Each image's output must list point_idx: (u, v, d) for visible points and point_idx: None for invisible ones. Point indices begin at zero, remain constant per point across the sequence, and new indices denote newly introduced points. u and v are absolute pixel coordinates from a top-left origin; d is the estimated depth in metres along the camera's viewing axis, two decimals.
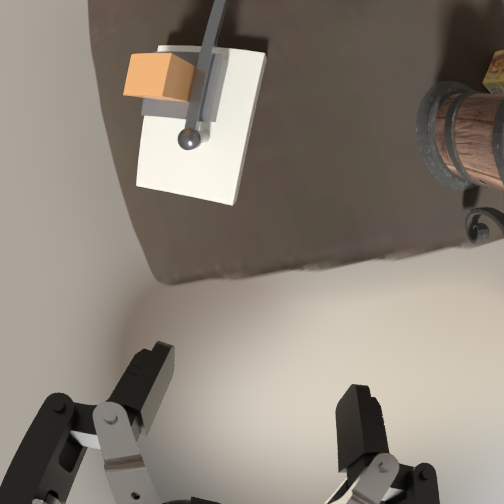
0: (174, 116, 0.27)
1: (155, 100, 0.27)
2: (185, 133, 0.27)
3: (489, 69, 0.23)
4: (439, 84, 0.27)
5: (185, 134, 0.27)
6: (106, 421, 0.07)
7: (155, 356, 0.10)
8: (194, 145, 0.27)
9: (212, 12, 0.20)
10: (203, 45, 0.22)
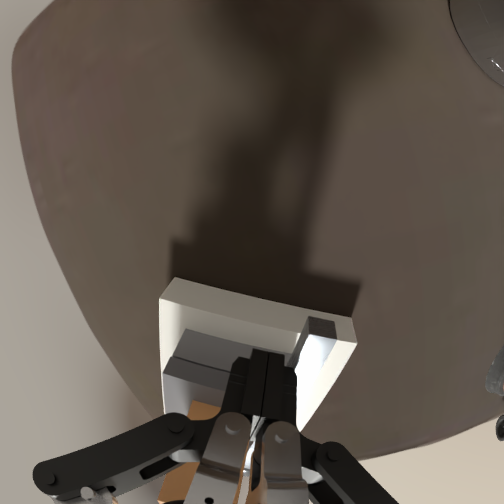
0: None
1: None
2: None
3: None
4: None
5: None
6: (232, 433, 0.08)
7: (256, 363, 0.11)
8: None
9: (295, 371, 0.11)
10: None
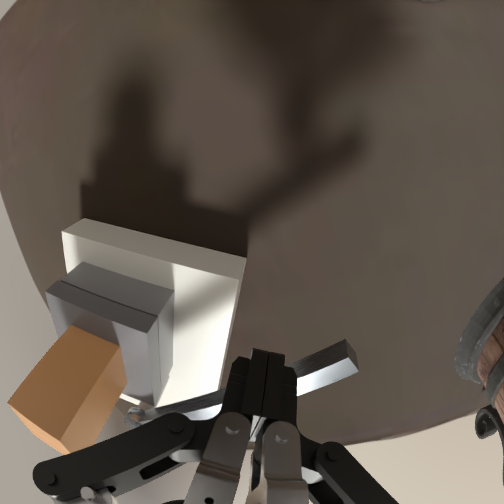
0: None
1: None
2: (137, 424, 0.17)
3: None
4: None
5: (137, 424, 0.17)
6: (232, 433, 0.08)
7: (256, 363, 0.11)
8: None
9: (305, 378, 0.12)
10: None
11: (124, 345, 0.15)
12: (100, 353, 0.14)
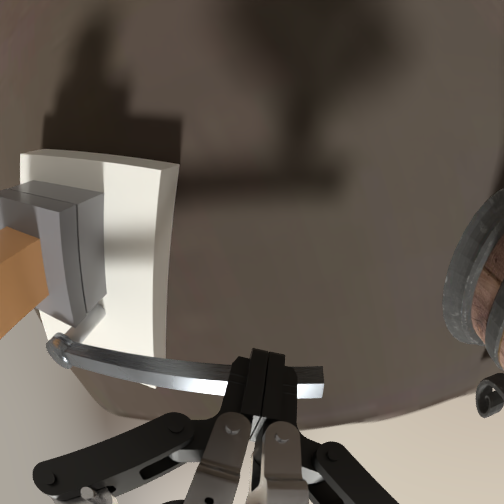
0: (39, 307, 0.15)
1: None
2: (60, 353, 0.15)
3: None
4: (498, 194, 0.15)
5: (60, 353, 0.15)
6: (231, 433, 0.08)
7: (256, 363, 0.11)
8: (58, 362, 0.15)
9: None
10: (193, 380, 0.13)
11: (42, 236, 0.13)
12: (19, 243, 0.12)
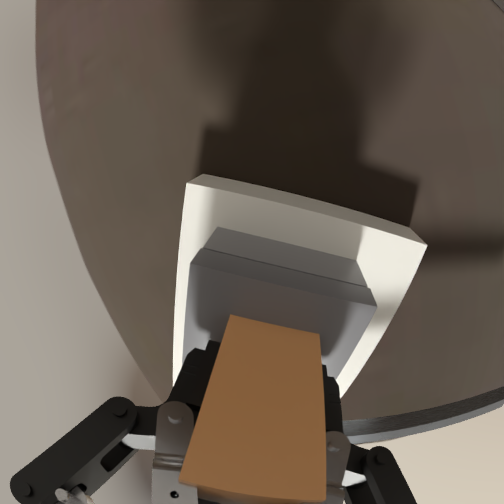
0: None
1: None
2: None
3: None
4: None
5: None
6: (173, 421, 0.07)
7: (210, 354, 0.11)
8: None
9: (488, 406, 0.12)
10: (443, 420, 0.12)
11: (328, 331, 0.12)
12: (302, 348, 0.11)
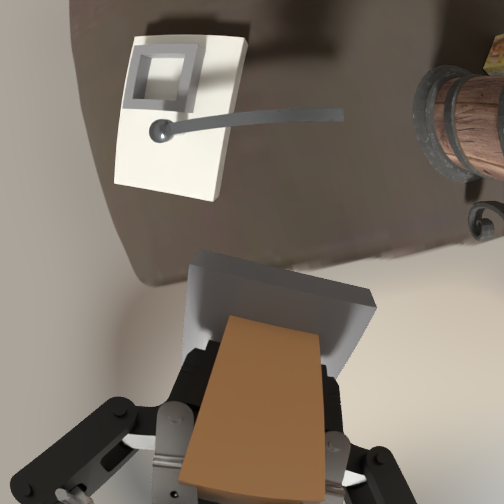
0: None
1: None
2: (164, 126, 0.24)
3: (490, 53, 0.19)
4: (437, 68, 0.24)
5: (163, 127, 0.24)
6: (173, 421, 0.07)
7: (210, 354, 0.11)
8: (155, 140, 0.24)
9: (317, 110, 0.22)
10: (269, 111, 0.22)
11: (327, 332, 0.12)
12: (301, 349, 0.11)
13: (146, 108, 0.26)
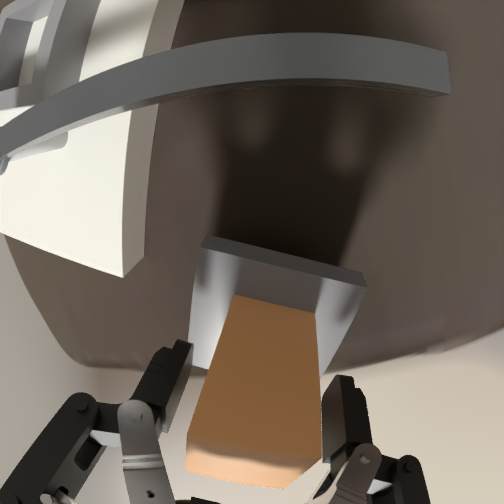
0: None
1: (215, 350, 0.15)
2: None
3: None
4: None
5: None
6: (131, 419, 0.07)
7: (176, 354, 0.10)
8: None
9: (366, 42, 0.05)
10: (184, 52, 0.05)
11: (322, 310, 0.13)
12: (299, 324, 0.12)
13: None
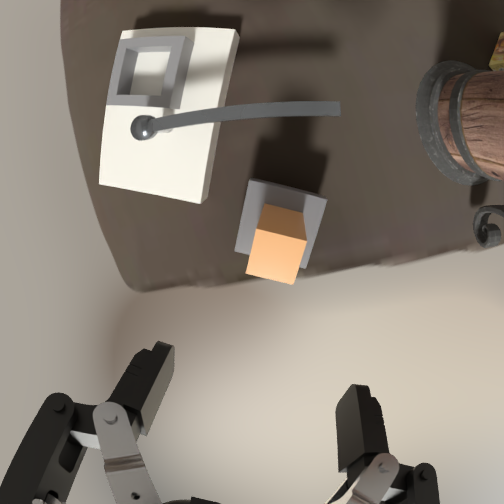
0: None
1: (252, 239, 0.30)
2: (146, 122, 0.22)
3: (495, 50, 0.17)
4: (440, 64, 0.22)
5: (145, 123, 0.22)
6: (106, 421, 0.07)
7: (155, 356, 0.10)
8: (136, 137, 0.22)
9: (312, 103, 0.19)
10: (258, 105, 0.20)
11: (306, 211, 0.28)
12: (295, 214, 0.27)
13: (130, 104, 0.24)
